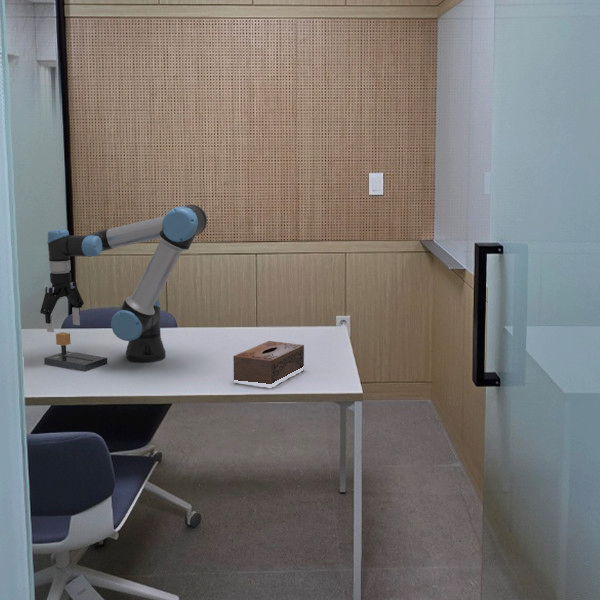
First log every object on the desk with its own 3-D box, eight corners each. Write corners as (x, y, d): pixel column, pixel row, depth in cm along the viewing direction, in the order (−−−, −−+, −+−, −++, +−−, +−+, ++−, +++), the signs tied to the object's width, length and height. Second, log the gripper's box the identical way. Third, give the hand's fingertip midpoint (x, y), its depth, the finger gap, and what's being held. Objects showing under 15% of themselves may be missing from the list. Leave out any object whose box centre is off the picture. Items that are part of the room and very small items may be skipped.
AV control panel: (107, 364, 335) (107, 357, 334) (85, 371, 324) (85, 364, 324) (67, 357, 344) (66, 350, 344) (44, 364, 334) (44, 357, 333)
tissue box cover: (270, 389, 304) (270, 360, 303) (233, 384, 311) (233, 356, 309) (303, 371, 327) (304, 345, 325) (268, 367, 333) (268, 340, 332)
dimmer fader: (70, 354, 337) (70, 333, 336) (64, 356, 334) (64, 335, 333) (62, 353, 339) (62, 332, 337) (56, 355, 336) (55, 333, 335)
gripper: (76, 266, 343) (79, 321, 347) (27, 276, 322) (31, 333, 326) (91, 267, 340) (94, 322, 344) (43, 277, 318) (47, 335, 322)
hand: (63, 328), depth 335 cm, fingers open, 13 cm apart
